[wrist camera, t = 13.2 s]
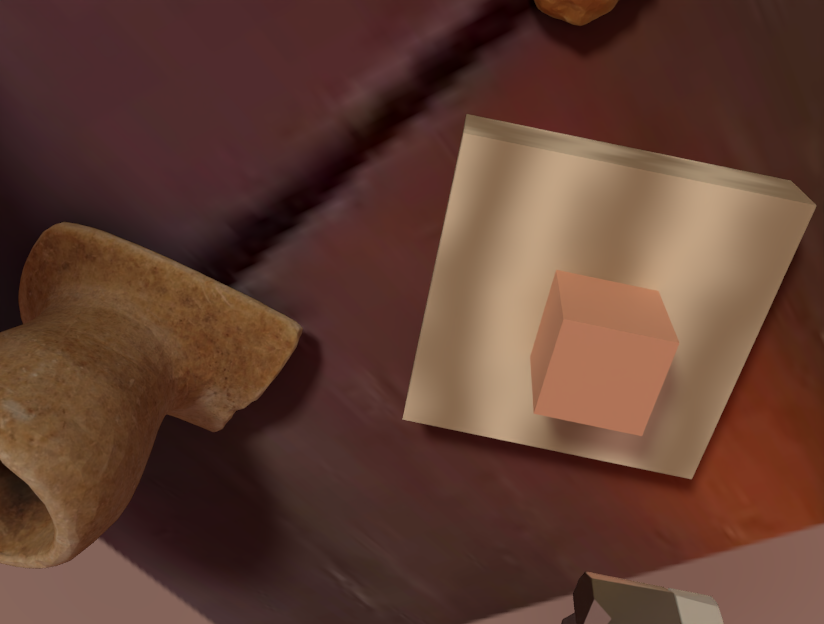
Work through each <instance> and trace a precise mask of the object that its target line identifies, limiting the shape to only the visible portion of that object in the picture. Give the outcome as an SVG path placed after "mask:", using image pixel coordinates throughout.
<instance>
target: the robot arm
mask: <svg viewBox="0 0 824 624" xmlns="http://www.w3.org/2000/svg"><path fill="white" fill-rule="evenodd" d="M573 600H574V610H575V613H573V614H572V615H570V616H568V617H566V618H564V619H563V620H562V623H561V624H724V623H723V620H722V616H721V613H720V610H719V607H718V604H717V603H716V601H715V600H714V599H713V598H712V597H711V596H707V595H702V594H697V593H692V592H687V591H682V590H677V589H672V588H668V589H666V588H664V587H660V586H655V585H650V584H645V583H640V582H635V581H630V580H625V579H620V578H615V577H610V576H605V575H600V574H595V573H590V572H584V574H583V575H582V576H581V577H580V578H579V580H578V583H577V585H576V588H575V590H574V592H573Z"/></svg>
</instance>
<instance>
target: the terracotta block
mask: <svg viewBox="0 0 824 624" xmlns="http://www.w3.org/2000/svg"><path fill="white" fill-rule="evenodd" d="M678 346H679V340H678V338H677V335H676V333H675V330H674V328H673V326H672V323H671V321H670V318H669V316H668V313H667V311H666V308H665V306H664V303H663V301H662V298H661V296H660V293H659V291H656V290H651V289H647V288H642V287H637V286H632V285H627V284H623V283H618V282H613V281H608V280H603V279H599V278H594V277H589V276H584V275H579V274H574V273H570V272H565V271H560V270H556V272H555V275H554V279H553V282H552V285H551V289H550V292H549V295H548V299H547V302H546V305H545V309H544V312H543V315H542V319H541V322H540V325H539V329H538V332H537V335H536V339H535V342H534V345H533V349H532V352H531V355H530V364H531V379H532V395H533V411H534V414H538V415H542V416H547V417H552V418H557V419H562V420H566V421H571V422H576V423H581V424H585V425H590V426H595V427H600V428H605V429H609V430H614V431H619V432H624V433H629V434H633V435H638V436H642V435H643V433H644V430H645V428H646V425H647V423H648V420H649V418H650V415H651V413H652V410H653V408H654V405H655V403H656V400H657V398H658V395H659V393H660V390H661V388H662V385H663V383H664V381H665V378H666V376H667V373H668V371H669V368H670V366H671V363H672V361H673V358H674V356H675V353H676V351H677V348H678Z"/></svg>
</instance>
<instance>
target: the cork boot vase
mask: <svg viewBox="0 0 824 624" xmlns="http://www.w3.org/2000/svg"><path fill="white" fill-rule="evenodd" d="M19 307H20V313H21V319H22V322H23V325H20V326H17V327H14V328H11V329H8V330H6V331H3V332H0V563H2V564H6V565H12V566H17V567H23V568H36V569H40V568H47V567H52V566H57V565H60V564H63V563H65V562H68V561H70V560H72V559H73V558H74V557H76V556H77V555H78V554H80V553H81V552H82V551H83V550H85V549H86V548H87V547H88V546H90V545H91V544H92V543H93V542H94V541H96V540H97V539H98V538H99V537H100V536H101V535H102V534H103V533H104V532H105V531H106V530H107V529H108V528H109V527H110V526H111V525H112V524H113V523H114V522H115V521H116V520H117V519H118V518H119V517H120V515H121V514H122V512H123V511H124V509H125V508H126V507H127V505H128V503H129V502H130V500H131V499H132V496H133V494H134V492H135V490H136V488H137V486H138V484H139V482H140V479H141V477H142V474H143V471H144V469H145V466H146V463H147V460H148V458H149V455H150V453H151V450H152V447H153V445H154V441H155V438H156V435H157V432H158V430H159V427H160V425H161V423H162V421H163V419H164V417H165V415H166V414H167V415H171V416H174V417H177V418H179V419H182V420H184V421H187V422H189V423H192V424H194V425H197V426H199V427H202V428H204V429H207V430H209V431H212V432H217V431H219V430H221V429H223V428H224V426H225V425H226V423H227V422H228V421H229V420H230V419H231V418H232V416H233V414H234V413H235V412H236V410H240V409H244V408H245V407H246V406H248V405H249V404H250V403H251V402H253V401H256V400H257V399H258V398H259V397H260V396H261V395H262V394H263V393H264V391H265V390H266V389H267V387H268V386H269V385H270V383H271V382H272V381H273V380H274V379H275V378H276V376H277V375H278V374H279V373H280V371H281V370H282V368H283V367H284V365H285V364H286V362H287V361H288V359H289V358H290V356H291V355H292V353H293V352H294V350H295V349H296V347H297V345H298V341H299V338H300V336H301V334H302V330H303V328H302V327H301V326H300V325H299V324H298V323H297V322H296V321H294V320H292V319H291V318H289V317H287V316H285V315H283V314H281V313H279V312H277V311H275V310H273V309H272V308H270V307H268V306H266V305H264V304H263V303H261V302H259V301H257V300H255V299H253V298H251V297H249V296H247V295H245V294H243V293H241V292H239V291H237V290H234V289H232V288H230V287H228V286H226V285H224V284H222V283H220V282H218V281H216V280H214V279H212V278H209V277H207V276H205V275H203V274H201V273H199V272H197V271H195V270H193V269H191V268H189V267H186V266H184V265H182V264H180V263H178V262H176V261H174V260H172V259H169V258H167V257H165V256H163V255H160V254H158V253H156V252H154V251H151V250H149V249H146V248H144V247H142V246H139V245H137V244H135V243H132V242H129V241H127V240H124V239H122V238H120V237H117V236H115V235H112V234H110V233H107V232H105V231H102V230H99V229H96V228H92V227H88V226H84V225H80V224H75V223H68V222H62V223H59V224H56V225H53V226H52V227H50V228H49V229H47V230H45V231H44V232H43V233H42V234H41V236H40V237H39V239H38V240H37V242H36V243H35V244H34V246H33V248H32V250H31V252H30V254H29V256H28V258H27V260H26V263H25V265H24V268H23V271H22V275H21V281H20V287H19Z"/></svg>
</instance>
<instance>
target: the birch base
mask: <svg viewBox="0 0 824 624" xmlns="http://www.w3.org/2000/svg"><path fill="white" fill-rule="evenodd" d="M816 206H817V205H816V204H814V203H813V202H812V201H811V200H810V199H809V198H808V197H807V196H806V195H805V194H804V193H803V192H802V191H801V190H800V189H799V188H798V187H797V186H796V185H795V184H794V183H793V182H792V181H790V180H785V179H780V178H775V177H770V176H765V175H760V174H756V173H751V172H746V171H741V170H736V169H731V168H726V167H722V166H717V165H712V164H707V163H702V162H697V161H692V160H687V159H683V158H678V157H673V156H668V155H663V154H658V153H653V152H649V151H644V150H639V149H634V148H629V147H624V146H619V145H614V144H610V143H605V142H600V141H595V140H590V139H585V138H580V137H576V136H571V135H566V134H561V133H556V132H551V131H546V130H542V129H537V128H532V127H527V126H522V125H517V124H512V123H507V122H503V121H498V120H493V119H488V118H483V117H478V116H473V115H469V114H467V115H466V120H465V125H464V129H463V134H462V139H461V143H460V148H459V153H458V158H457V162H456V167H455V172H454V176H453V181H452V186H451V190H450V195H449V200H448V205H447V209H446V214H445V219H444V223H443V228H442V233H441V237H440V242H439V247H438V251H437V256H436V261H435V266H434V270H433V275H432V280H431V284H430V289H429V294H428V298H427V303H426V308H425V312H424V317H423V322H422V327H421V331H420V336H419V341H418V345H417V350H416V355H415V359H414V364H413V369H412V374H411V378H410V383H409V388H408V393H407V399H406V404H405V409H404V415H403V420H408V421H413V422H417V423H422V424H427V425H432V426H437V427H442V428H446V429H451V430H456V431H461V432H466V433H471V434H475V435H480V436H485V437H490V438H495V439H500V440H504V441H509V442H514V443H519V444H524V445H528V446H533V447H538V448H543V449H548V450H553V451H557V452H562V453H567V454H572V455H577V456H582V457H586V458H591V459H596V460H601V461H606V462H611V463H615V464H620V465H625V466H630V467H635V468H640V469H644V470H649V471H654V472H659V473H664V474H669V475H673V476H678V477H683V478H688V479H692V478H693V476H694V473H695V471H696V469H697V467H698V465H699V462H700V460H701V458H702V456H703V454H704V451H705V449H706V447H707V445H708V443H709V440H710V438H711V436H712V434H713V432H714V429H715V427H716V425H717V423H718V421H719V418H720V416H721V414H722V412H723V410H724V407H725V405H726V403H727V401H728V399H729V396H730V394H731V392H732V390H733V388H734V386H735V383H736V381H737V379H738V377H739V375H740V372H741V370H742V368H743V366H744V364H745V361H746V359H747V357H748V355H749V353H750V350H751V348H752V346H753V344H754V342H755V339H756V337H757V335H758V333H759V331H760V328H761V326H762V324H763V322H764V320H765V317H766V315H767V313H768V311H769V309H770V306H771V304H772V302H773V300H774V298H775V296H776V293H777V291H778V289H779V287H780V285H781V282H782V280H783V278H784V276H785V274H786V271H787V269H788V267H789V265H790V263H791V260H792V258H793V256H794V254H795V252H796V249H797V247H798V245H799V243H800V241H801V238H802V236H803V234H804V232H805V230H806V227H807V225H808V223H809V221H810V219H811V216H812V214H813V212H814V210H815V208H816ZM556 270H560V271H565V272H570V273H574V274H579V275H584V276H589V277H594V278H599V279H603V280H608V281H613V282H618V283H623V284H627V285H632V286H637V287H642V288H647V289H651V290H656V291H659V293H660V296H661V298H662V301H663V303H664V306H665V308H666V311H667V313H668V316H669V318H670V321H671V323H672V326H673V328H674V330H675V333H676V335H677V338H678V340H679V346H678V348H677V351H676V353H675V356H674V358H673V361H672V363H671V366H670V368H669V371H668V373H667V376H666V378H665V381H664V383H663V385H662V388H661V390H660V393H659V395H658V398H657V400H656V403H655V405H654V408H653V410H652V413H651V415H650V418H649V420H648V423H647V425H646V428H645V430H644V433H643V435H642V436H638V435H633V434H629V433H624V432H619V431H614V430H609V429H605V428H600V427H595V426H590V425H585V424H581V423H576V422H571V421H566V420H562V419H557V418H552V417H547V416H542V415H538V414H534V411H533V395H532V379H531V364H530V355H531V352H532V349H533V345H534V342H535V339H536V335H537V332H538V329H539V325H540V322H541V319H542V315H543V312H544V309H545V305H546V302H547V299H548V295H549V292H550V289H551V285H552V282H553V279H554V275H555V272H556Z"/></svg>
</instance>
